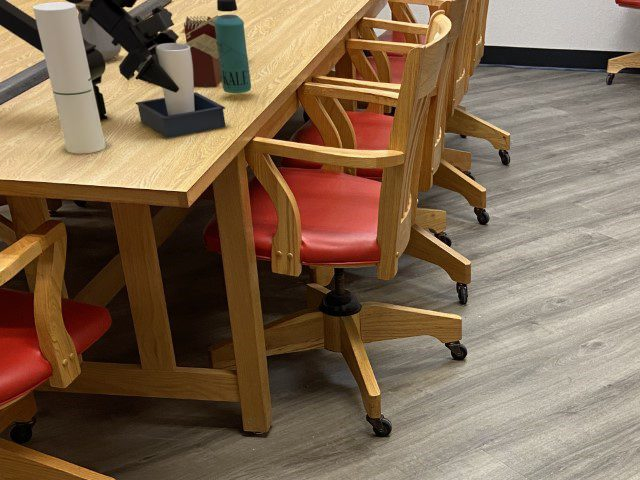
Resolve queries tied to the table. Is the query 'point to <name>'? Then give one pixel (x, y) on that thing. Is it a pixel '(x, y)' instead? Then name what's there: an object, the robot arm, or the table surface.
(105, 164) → the table surface
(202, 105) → the dark blue square tray
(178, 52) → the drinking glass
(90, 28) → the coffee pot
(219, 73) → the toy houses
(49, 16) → the cylindrical container
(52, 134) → the table surface
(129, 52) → the robot arm
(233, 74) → the beverage bottle
